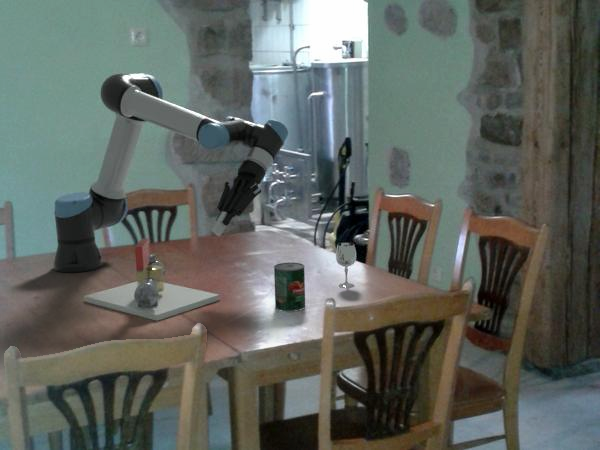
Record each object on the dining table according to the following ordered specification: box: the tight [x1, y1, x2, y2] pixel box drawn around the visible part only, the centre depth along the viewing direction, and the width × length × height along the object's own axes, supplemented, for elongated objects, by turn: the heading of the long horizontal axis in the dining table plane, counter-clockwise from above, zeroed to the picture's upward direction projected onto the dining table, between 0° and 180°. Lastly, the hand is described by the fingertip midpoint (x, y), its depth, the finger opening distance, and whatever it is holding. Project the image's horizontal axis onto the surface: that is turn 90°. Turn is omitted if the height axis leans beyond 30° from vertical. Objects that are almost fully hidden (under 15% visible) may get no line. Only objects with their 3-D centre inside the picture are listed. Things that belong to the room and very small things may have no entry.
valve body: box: [134, 260, 166, 307], centre depth 212 cm, size 26×7×9 cm, turn 6°
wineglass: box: [335, 242, 357, 289], centre depth 222 cm, size 6×6×12 cm
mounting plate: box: [83, 281, 220, 322], centre depth 213 cm, size 30×22×2 cm
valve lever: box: [134, 238, 157, 273], centre depth 205 cm, size 16×4×7 cm, turn 2°
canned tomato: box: [273, 261, 306, 312], centre depth 204 cm, size 8×8×11 cm
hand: (215, 233), depth 218 cm, fingers closed
